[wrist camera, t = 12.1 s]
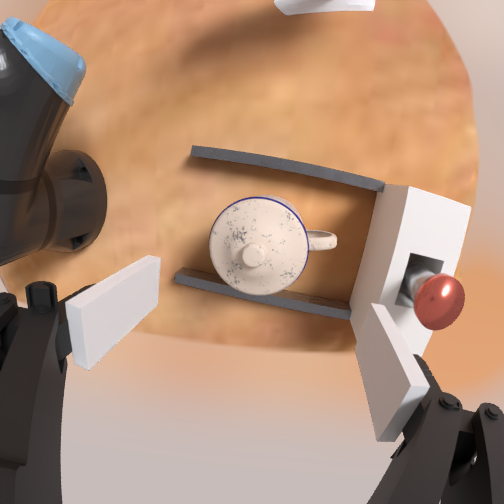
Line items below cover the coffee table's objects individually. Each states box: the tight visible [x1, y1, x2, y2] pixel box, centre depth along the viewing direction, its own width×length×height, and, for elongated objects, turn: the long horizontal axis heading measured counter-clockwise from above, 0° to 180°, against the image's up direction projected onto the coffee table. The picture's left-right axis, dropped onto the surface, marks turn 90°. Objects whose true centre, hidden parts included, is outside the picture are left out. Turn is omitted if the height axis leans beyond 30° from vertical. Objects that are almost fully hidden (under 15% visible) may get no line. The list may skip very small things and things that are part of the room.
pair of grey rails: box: [175, 145, 385, 320], centre depth 33 cm, size 22×16×2 cm
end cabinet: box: [349, 184, 471, 357], centre depth 28 cm, size 7×16×10 cm, turn 170°
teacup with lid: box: [209, 195, 337, 295], centre depth 29 cm, size 12×9×12 cm
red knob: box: [401, 261, 465, 330], centre depth 22 cm, size 4×4×7 cm
